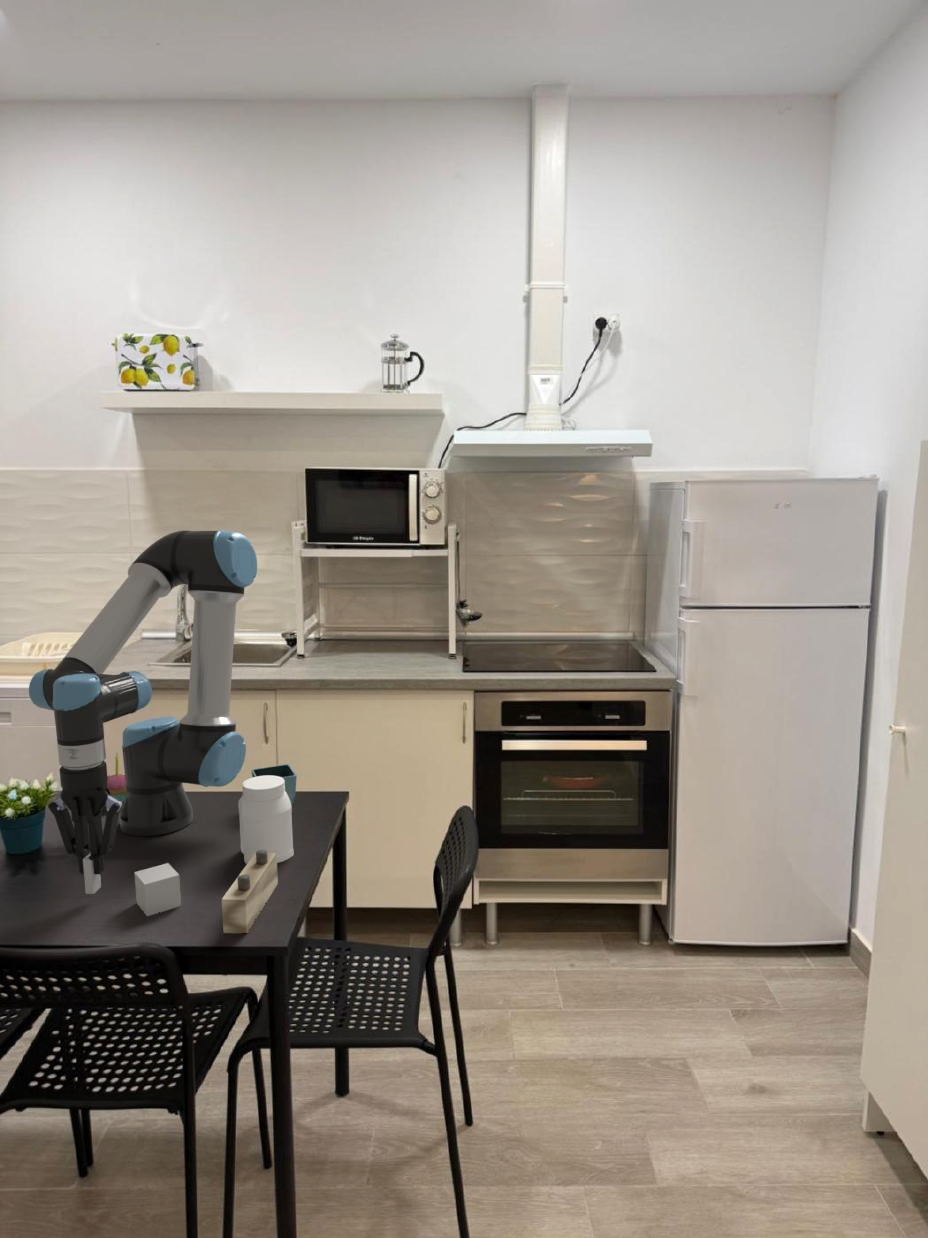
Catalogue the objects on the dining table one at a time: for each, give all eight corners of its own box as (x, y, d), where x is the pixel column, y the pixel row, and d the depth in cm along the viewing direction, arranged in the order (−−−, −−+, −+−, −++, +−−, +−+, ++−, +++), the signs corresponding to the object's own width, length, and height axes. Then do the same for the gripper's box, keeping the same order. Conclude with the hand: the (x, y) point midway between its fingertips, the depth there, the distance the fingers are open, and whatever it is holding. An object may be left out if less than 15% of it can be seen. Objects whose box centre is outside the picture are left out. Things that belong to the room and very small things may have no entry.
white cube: (136, 903, 154) (134, 872, 153) (170, 894, 157) (167, 863, 156) (147, 917, 149) (144, 884, 148) (181, 906, 152) (179, 874, 151)
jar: (239, 846, 177) (235, 776, 175) (285, 838, 181) (282, 770, 178) (246, 869, 167) (242, 795, 164) (296, 860, 170) (293, 788, 168)
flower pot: (259, 819, 191) (257, 781, 189) (252, 806, 199) (250, 769, 197) (298, 813, 194) (297, 775, 193) (290, 800, 202) (288, 763, 201)
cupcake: (107, 798, 205) (103, 749, 203) (142, 798, 204) (138, 750, 203) (90, 812, 196) (86, 761, 194) (127, 812, 196) (123, 761, 194)
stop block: (223, 933, 143) (220, 888, 142) (256, 883, 161) (254, 842, 159) (247, 933, 143) (244, 888, 141) (277, 883, 160) (275, 843, 159)
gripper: (34, 770, 146) (46, 899, 150) (108, 771, 145) (119, 901, 149) (58, 756, 154) (69, 879, 158) (128, 757, 153) (138, 881, 157)
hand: (93, 890), depth 153 cm, fingers closed
